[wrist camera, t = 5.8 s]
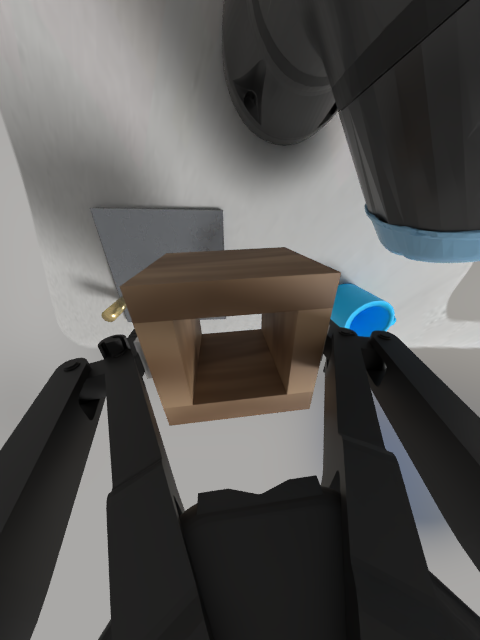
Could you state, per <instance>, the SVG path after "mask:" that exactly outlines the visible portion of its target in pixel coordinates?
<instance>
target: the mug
mask: <svg viewBox="0 0 480 640" xmlns="http://www.w3.org/2000/svg"><path fill="white" fill-rule="evenodd" d="M394 314H395V313H394V309H393V307H392V306H391V305H390V304H389V303H388V302H386V301H384V300H382V299H380V298H378V297H377V296H375V295H373V294H371V293H369V292H367V291H365V290H363V289H361V288H360V287H358V286H356V285H353V284H341V285H338V288H337V292H336V297H335V301H334V305H333V310H332V314H331V318H330V319H331V320H332V321H334V322H335V323H336V324H337V325H338V326H339V327H343V328H348V329H351V330H353V331H354V332H356V333H357V335H358V336H363V337H370V336H371V333H372V332H373V331H378V330H379V331H387V330H388V329H389V327H390V326H391V325H393V324H394V323H395V322H396V318H395V316H394Z"/></svg>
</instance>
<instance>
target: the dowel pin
mask: <svg viewBox="0 0 480 640" xmlns="http://www.w3.org/2000/svg"><path fill="white" fill-rule="evenodd" d="M126 308H127V306H126V303H125V300H124V298H123V296H122V297H120V298H119V299H118V300H117V301H116V302H114V303H113V304H112V305H111V306H110V307H109V308H107V309H106V310H105V311H104V312H103V313H102V318H103V319H104V320H106V321H108V322H113V321H114V320H115V319H116V318H117V317H118V316H119V315H120V314H121V313H122V312H123V311H124V310H125V309H126Z"/></svg>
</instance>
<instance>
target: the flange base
mask: <svg viewBox="0 0 480 640" xmlns="http://www.w3.org/2000/svg"><path fill="white" fill-rule="evenodd" d="M90 209H91V212H92V215H93V218H94V221H95V224H96V227H97V230H98V233H99V236H100V239H101V242H102V245H103V248H104V251H105V254H106V257H107V261H108V264H109V267H110V270H111V273H112V276H113V279H114V282H115V285H116V288H117V291H118V294H119V297H122V296H123V295H122V292H121V289H120V286H121V285H122V284H124V283H125V282H127V281H128V280H129V279H131V278H132V277H134V276H135V275H136V274H138V273H139V272H141V271H142V270H143V269H145V268H146V267H148V266H149V265H150V264H152V263H153V262H155V261H156V260H157V259H159V258H160V257H162V256H163V255H164V254H166V253H182V252H202V251H221V250H224V236H223V210H185V209H121V208H90ZM124 312H125V315H126V318H127V321H128V322H132V320H131V317H130V314H129V311H128V309H127V308H126V309H125V310H124ZM199 319H200V320H206V319H226V316H224V317H211V318H199Z"/></svg>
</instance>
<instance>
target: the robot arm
mask: <svg viewBox="0 0 480 640" xmlns="http://www.w3.org/2000/svg"><path fill="white" fill-rule="evenodd" d="M222 55H223V66H224V72H225V78H226V82H227V86H228V90H229V93H230V96H231V99H232V101H233V103H234V106H235V108H236V110H237V112H238V113H239V115H240V117H241V118H242V120H243V121H244V123H245V124H246V125H247V126H248V127H249V129H250V130H251V131H252V132H254V133H255V134H256V135H257V136H259V137H260V138H262V139H263V140H265V141H267V142H270V143H273V144H278V145H291V144H295V143H299V142H301V141H303V140H305V139H307V138H309V137H311V136H312V135H313V134H315V133H316V132H317V131H318V130H320V129H321V128H322V127H323V126H324V125H325V124H327V123H328V122H329V121H330V120H331V119H332V117H333V116H334V115H335V114H336V113H337V111H338V112H339V111H340V112H339V116H340V120H341V123H342V126H343V129H344V133H345V136H346V139H347V143H348V146H349V149H350V152H351V156H352V159H353V162H354V165H355V169H356V172H357V175H358V179H359V182H360V185H361V188H362V192H363V195H364V198H365V202H366V204H365V212H366V214H367V216H368V217H369V218H370V219H371V220H372V222H373V225H374V228H375V230H376V233H377V235H378V238H379V240H380V242H381V243H382V245H383V246H384V247H385V248H386V249H388V250H389V251H390V252H392V253H394V254H397V255H403V256H404V257H406V258H408V259H411V260H416V261H423V262H434V263H462V262H475V261H480V0H224V8H223V22H222ZM98 348H99V350H100V352H101V353H102V356H103V358H104V360H101V361H97V362H94V363H90V364H89V363H88V361H87V360H86V359H85V358H76V359H73V360H69V361H67V362H65V363H63V364H62V365H60V366H59V367H58V368H57V369H56V370H55V372H54V373H53V375H52V376H51V377H50V379H49V381H48V382H47V383H46V385H45V386H44V388H43V389H42V391H41V392H40V393H39V395H38V396H37V398H36V399H35V401H34V402H33V404H32V405H31V407H30V408H29V410H28V411H27V412H26V414H25V415H24V417H23V418H22V420H21V421H20V423H19V424H18V426H17V427H16V429H15V430H14V432H13V433H12V435H11V436H10V437H9V439H8V440H7V442H6V443H5V444H4V446H3V447H2V449H1V450H0V640H30V638H31V636H32V633H33V631H34V628H35V625H36V624H37V621H38V618H39V615H40V612H41V609H42V606H43V603H44V600H45V597H46V594H47V591H48V588H49V585H50V581H51V578H52V575H53V571H54V568H55V564H56V561H57V558H58V555H59V551H60V548H61V545H62V541H63V538H64V535H65V531H66V528H67V525H68V521H69V518H70V515H71V511H72V508H73V504H74V501H75V498H76V494H77V491H78V488H79V484H80V481H81V477H82V475H83V471H84V468H85V464H86V461H87V458H88V454H89V451H90V448H91V444H92V441H93V438H94V435H95V431H96V428H97V425H98V421H99V418H100V415H101V411H102V408H103V405H104V401H105V398H106V396H107V411H108V424H109V440H110V454H111V468H112V483H113V488H112V491H111V492H110V493H109V494H108V497H107V508H106V509H107V534H108V556H109V557H108V558H109V582H110V606H111V620H110V621H109V623H108V625H107V626H106V628H105V630H104V631H103V633H102V634H101V636H100V638H99V639H98V640H480V617H479V616H478V615H477V614H476V613H475V612H474V611H472V610H471V609H470V608H469V607H468V606H467V605H466V604H465V603H464V602H463V601H461V599H459V598H458V597H457V596H456V595H455V594H454V593H453V592H452V591H451V590H450V589H448V588H447V587H446V586H445V585H444V584H443V583H442V582H441V581H440V580H439V579H438V578H437V577H435V576H434V575H433V574H432V573H431V572H430V571H429V570H428V567H427V563H426V560H425V557H424V553H423V550H422V546H421V542H420V539H419V535H418V531H417V528H416V524H415V521H414V517H413V514H412V510H411V507H410V503H409V499H408V496H407V492H406V489H405V485H404V482H403V478H402V474H401V471H400V467H399V464H398V461H397V459H396V457H395V455H394V454H393V453H392V452H389V451H387V450H386V449H385V446H384V442H383V438H382V434H381V430H380V426H379V422H378V418H377V414H376V409H375V405H374V401H373V397H372V393H371V390H372V391H373V393H374V395H375V397H376V399H377V400H378V402H379V404H380V406H381V407H382V409H383V411H384V413H385V415H386V416H387V418H388V420H389V422H390V423H391V425H392V427H393V428H394V430H395V432H396V433H397V436H398V437H399V439H400V441H401V442H402V444H403V446H404V448H405V450H406V451H407V453H408V455H409V457H410V459H411V460H412V462H413V464H414V466H415V467H416V469H417V471H418V473H419V474H420V476H421V478H422V479H423V481H424V483H425V485H426V487H427V488H428V490H429V492H430V494H431V496H432V497H433V499H434V501H435V503H436V504H437V506H438V508H439V510H440V511H441V513H442V515H443V516H444V518H445V520H446V522H447V523H448V525H449V527H450V528H451V530H452V532H453V533H454V535H455V536H456V538H457V540H458V541H459V543H460V544H461V546H462V547H463V549H464V550H465V551H466V553H467V554H468V556H469V557H470V559H471V560H472V562H473V563H474V565H475V566H476V567H477V569H478V570H479V571H480V418H479V417H478V416H477V415H476V414H475V413H474V412H473V411H472V410H471V409H470V408H469V407H468V406H467V405H466V404H465V403H464V402H463V401H462V400H461V399H460V398H459V397H458V396H457V395H456V394H455V393H454V392H453V391H452V390H451V389H450V388H448V386H446V384H445V383H443V381H442V380H441V379H439V378H438V377H437V376H436V375H435V374H434V373H433V372H432V371H431V370H430V369H429V368H428V367H427V366H426V365H425V364H424V363H423V362H422V361H421V360H420V359H419V358H418V357H417V356H416V355H415V354H414V353H413V352H412V351H411V350H410V349H409V348H408V347H407V346H406V345H405V344H404V343H403V342H402V341H401V340H400V339H399V338H398V337H396V336H395V335H393V334H391V333H389V332H386V331H379V330H378V331H373V332H372V333H371V336H370V337H363V336H358V335H357V333H356V332H354V331H353V330H351V329H348V328H343V327H339V326H338V325H337V324H336V323H335V322H334V321H332V320H331V319H330V322H329V327H328V331H327V335H326V340H325V344H324V348H323V352H322V356H323V354H324V355H325V356H326V362H325V367H324V370H323V372H325V401H324V455H323V476H322V483H321V485H320V484H319V481H318V479H317V476H310V477H303V478H296V479H289V480H287V481H285V482H283V483H281V484H279V485H278V486H276V487H274V488H272V489H270V490H268V491H266V492H265V493H263V494H254V493H248V492H243V491H237V490H232V489H224V490H217V491H210V492H204V493H198V503H197V504H195V505H194V506H192V507H190V508H189V509H187V510H186V511H184V507H183V504H182V502H181V499H180V496H179V493H178V490H177V487H176V484H175V480H174V477H173V474H172V471H171V467H170V464H169V461H168V458H167V455H166V452H165V448H164V445H163V442H162V438H161V435H160V432H159V429H158V426H157V423H156V419H155V416H154V413H153V409H152V406H151V403H150V400H149V396H148V393H147V390H146V387H145V384H144V381H143V378H142V376H143V375H144V372H145V374H146V376H147V378H152V375H151V372H150V370H149V367H148V364H147V361H146V359H145V356H144V353H143V350H142V347H141V345H140V342H139V339H138V336H137V334H136V331H135V329H134V330H133V331H132V332H131V334H130V335H129V336H128V338H126V336H125V335H113V336H110V337H107V338H105V339H103V340H102V341H101V342H100V343H99V344H98ZM321 360H322V357H321ZM386 367H387V368H386ZM370 388H371V389H370Z"/></svg>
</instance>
